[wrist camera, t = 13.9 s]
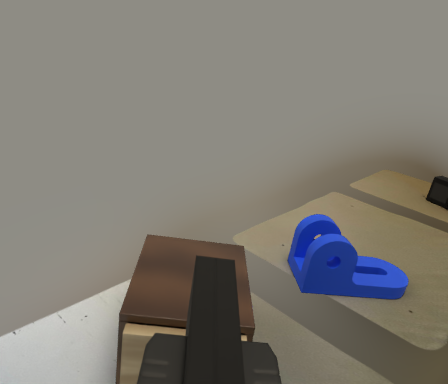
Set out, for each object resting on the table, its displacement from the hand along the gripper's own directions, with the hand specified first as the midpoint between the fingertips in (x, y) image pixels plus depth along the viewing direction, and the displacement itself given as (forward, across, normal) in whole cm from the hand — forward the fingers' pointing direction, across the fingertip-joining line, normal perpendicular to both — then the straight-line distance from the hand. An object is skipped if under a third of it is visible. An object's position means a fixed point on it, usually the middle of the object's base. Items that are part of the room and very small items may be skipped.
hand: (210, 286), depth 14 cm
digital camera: (+76, +66, -23) cm, 104 cm away
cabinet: (+19, 0, -23) cm, 30 cm away
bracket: (+36, +25, -23) cm, 49 cm away
